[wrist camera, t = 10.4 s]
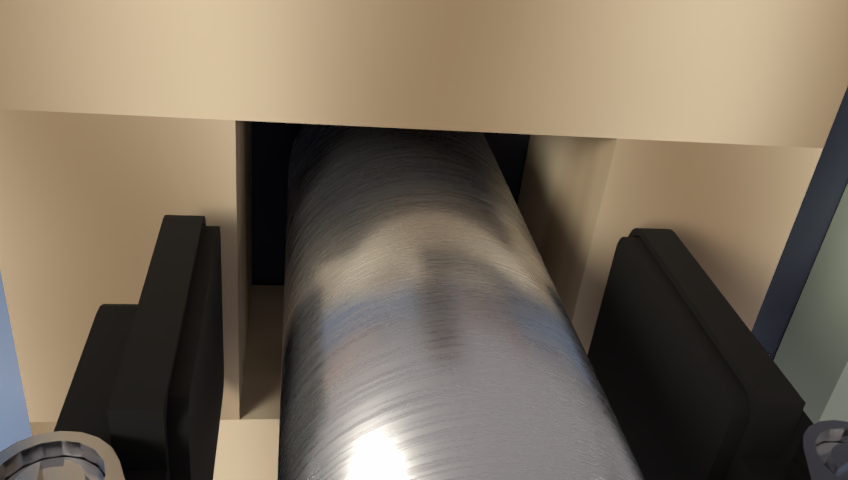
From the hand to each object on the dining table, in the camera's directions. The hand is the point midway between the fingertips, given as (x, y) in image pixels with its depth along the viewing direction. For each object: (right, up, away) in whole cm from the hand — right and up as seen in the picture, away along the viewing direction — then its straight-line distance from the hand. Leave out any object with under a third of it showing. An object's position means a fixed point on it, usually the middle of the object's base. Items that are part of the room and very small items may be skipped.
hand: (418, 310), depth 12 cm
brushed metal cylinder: (-1, +2, +4) cm, 5 cm away
